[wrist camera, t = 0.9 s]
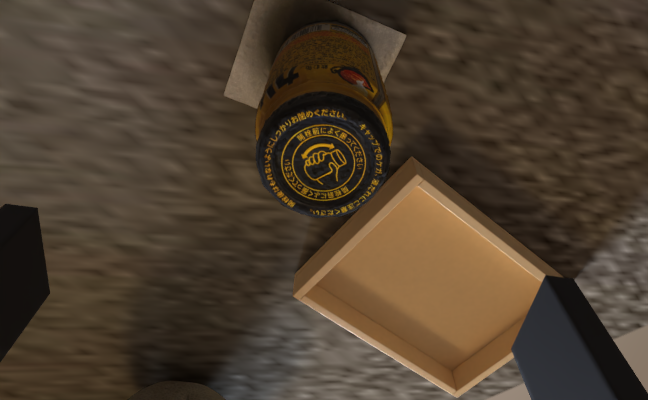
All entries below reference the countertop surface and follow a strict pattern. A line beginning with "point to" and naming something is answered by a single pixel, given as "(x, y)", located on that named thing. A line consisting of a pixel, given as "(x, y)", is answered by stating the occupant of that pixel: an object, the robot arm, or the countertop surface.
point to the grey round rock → (176, 392)
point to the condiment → (317, 102)
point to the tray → (426, 280)
